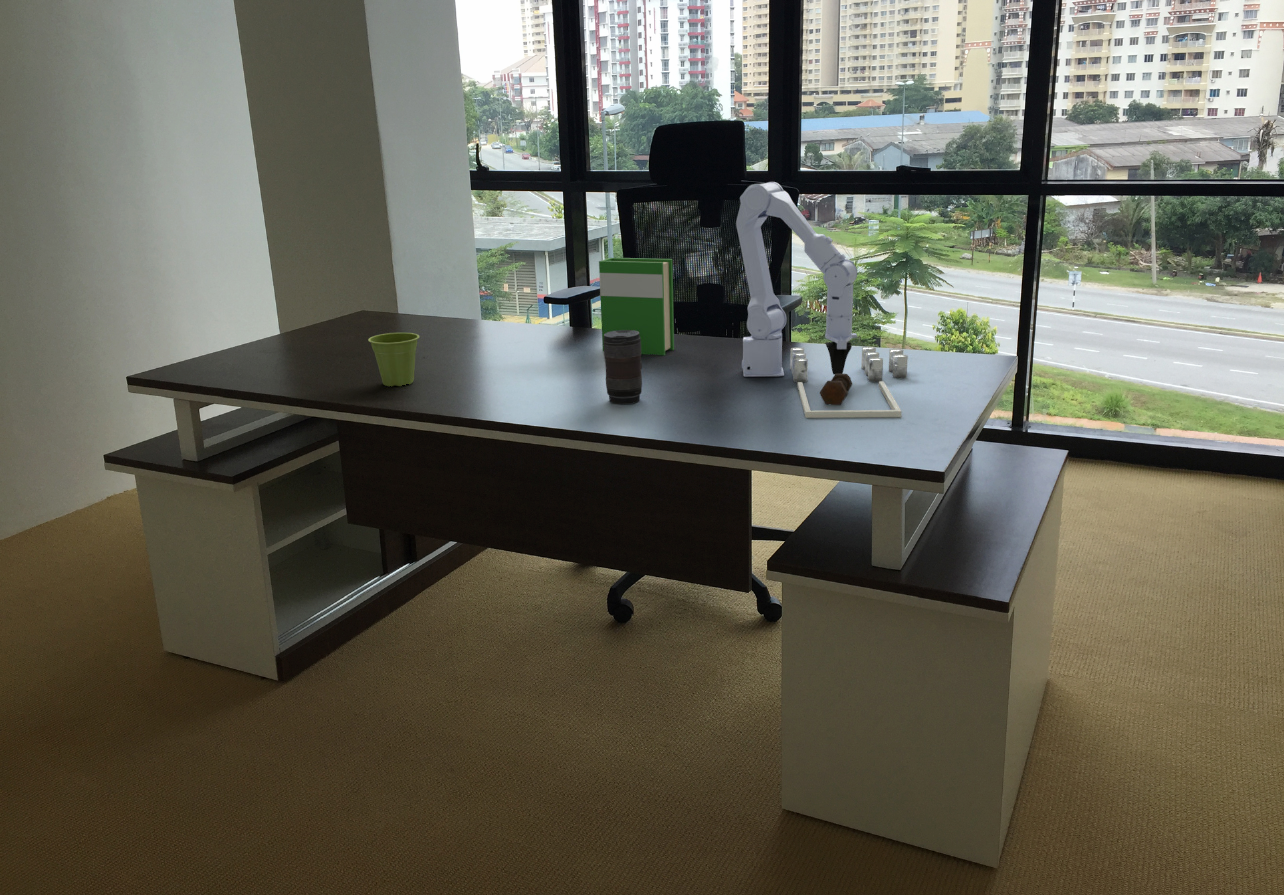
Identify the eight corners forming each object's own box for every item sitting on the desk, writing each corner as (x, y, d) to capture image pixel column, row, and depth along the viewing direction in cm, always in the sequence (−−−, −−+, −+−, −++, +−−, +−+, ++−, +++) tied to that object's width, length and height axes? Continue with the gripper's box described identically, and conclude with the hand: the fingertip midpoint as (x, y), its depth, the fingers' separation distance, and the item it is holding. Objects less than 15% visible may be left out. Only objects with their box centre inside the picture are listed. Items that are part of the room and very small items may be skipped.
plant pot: (363, 388, 243) (357, 341, 239) (391, 376, 253) (386, 331, 250) (406, 391, 239) (401, 343, 235) (433, 379, 249) (428, 333, 246)
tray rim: (805, 417, 207) (805, 411, 207) (797, 387, 231) (797, 382, 230) (901, 417, 205) (901, 411, 205) (883, 386, 229) (883, 381, 229)
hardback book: (674, 349, 274) (672, 259, 267) (664, 355, 267) (661, 262, 260) (614, 346, 280) (610, 257, 273) (602, 351, 274) (598, 261, 267)
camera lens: (606, 396, 228) (604, 329, 224) (643, 395, 228) (641, 329, 223) (604, 405, 221) (601, 337, 216) (642, 405, 220) (640, 336, 216)
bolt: (846, 396, 230) (835, 411, 216) (827, 384, 231) (815, 398, 217) (860, 375, 227) (850, 389, 214) (841, 363, 228) (830, 376, 215)
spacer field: (793, 382, 235) (794, 361, 234) (789, 367, 249) (790, 347, 248) (909, 381, 233) (911, 360, 231) (899, 366, 247) (900, 346, 246)
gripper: (861, 320, 224) (858, 381, 228) (853, 309, 238) (851, 366, 242) (828, 321, 224) (826, 381, 229) (822, 309, 238) (821, 366, 242)
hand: (837, 373), depth 235 cm, fingers closed
